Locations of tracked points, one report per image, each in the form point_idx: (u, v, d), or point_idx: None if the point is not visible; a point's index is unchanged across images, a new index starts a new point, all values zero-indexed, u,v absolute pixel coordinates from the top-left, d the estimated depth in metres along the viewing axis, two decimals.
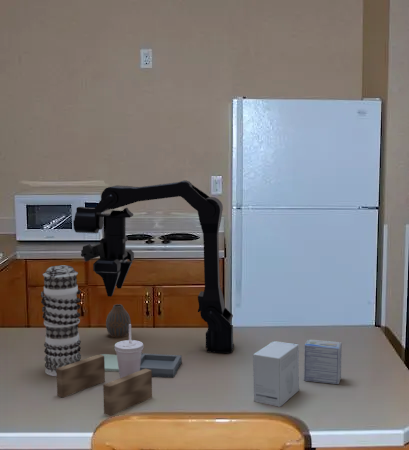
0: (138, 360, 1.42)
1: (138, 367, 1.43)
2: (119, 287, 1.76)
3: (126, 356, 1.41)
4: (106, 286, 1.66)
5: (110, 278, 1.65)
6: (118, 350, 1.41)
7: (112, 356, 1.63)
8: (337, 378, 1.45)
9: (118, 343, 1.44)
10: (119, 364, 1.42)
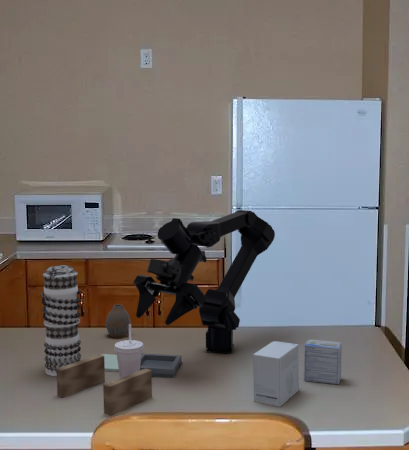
0: (138, 360, 1.42)
1: (138, 367, 1.43)
2: (139, 316, 1.51)
3: (126, 356, 1.41)
4: (174, 312, 1.46)
5: (181, 307, 1.47)
6: (118, 350, 1.41)
7: (112, 356, 1.63)
8: (337, 378, 1.45)
9: (118, 343, 1.44)
10: (119, 364, 1.42)
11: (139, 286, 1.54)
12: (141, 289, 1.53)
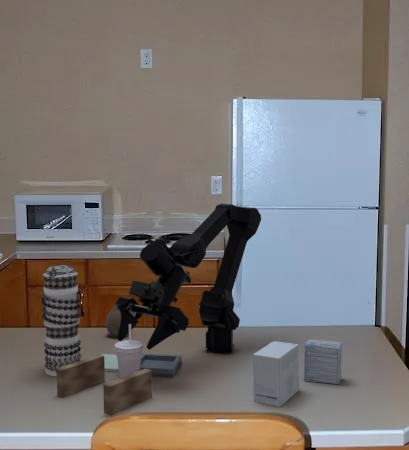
0: (138, 360, 1.42)
1: (138, 367, 1.43)
2: (120, 339, 1.47)
3: (126, 356, 1.41)
4: (156, 336, 1.42)
5: (164, 331, 1.43)
6: (118, 350, 1.41)
7: (112, 356, 1.63)
8: (337, 378, 1.45)
9: (118, 343, 1.44)
10: (119, 364, 1.42)
11: (121, 308, 1.49)
12: (123, 312, 1.49)
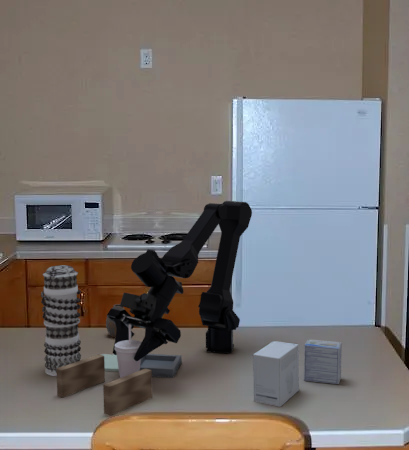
0: None
1: (138, 367, 1.43)
2: (115, 353, 1.45)
3: (126, 356, 1.41)
4: (144, 348, 1.41)
5: (151, 342, 1.42)
6: (118, 350, 1.41)
7: (112, 356, 1.63)
8: (337, 378, 1.45)
9: (118, 343, 1.44)
10: (119, 364, 1.42)
11: (116, 321, 1.47)
12: (118, 324, 1.47)
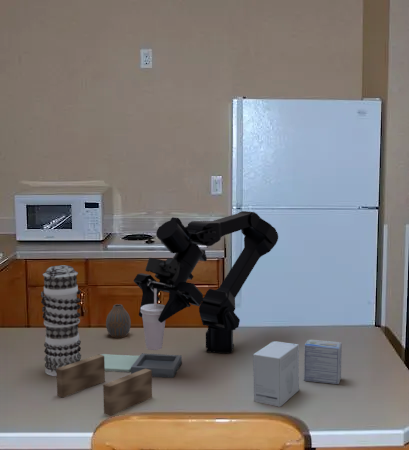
0: (162, 322, 1.49)
1: (162, 329, 1.50)
2: (141, 315, 1.52)
3: (151, 318, 1.48)
4: (168, 310, 1.48)
5: (175, 305, 1.49)
6: (144, 312, 1.48)
7: (112, 356, 1.63)
8: (337, 378, 1.45)
9: (144, 306, 1.51)
10: (144, 326, 1.50)
11: (142, 285, 1.54)
12: (144, 289, 1.54)
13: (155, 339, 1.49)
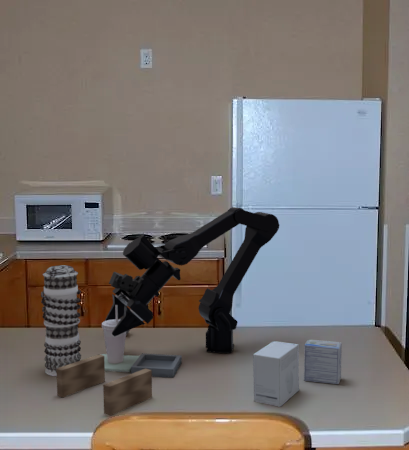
0: (118, 338, 1.56)
1: (118, 344, 1.56)
2: None
3: (107, 332, 1.56)
4: (120, 325, 1.52)
5: (130, 321, 1.53)
6: (102, 326, 1.57)
7: None
8: (337, 378, 1.45)
9: (108, 320, 1.60)
10: None
11: (113, 296, 1.63)
12: (113, 299, 1.63)
13: (112, 353, 1.57)
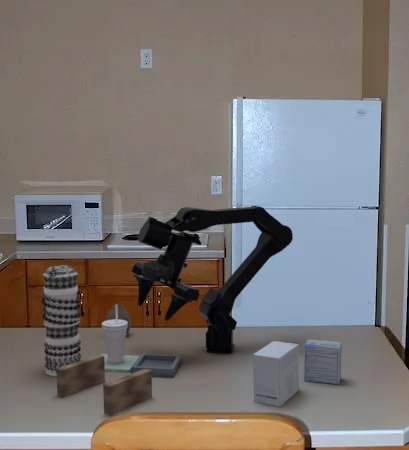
0: (118, 338, 1.56)
1: (118, 344, 1.56)
2: (141, 305, 1.65)
3: (107, 332, 1.56)
4: (172, 310, 1.59)
5: (178, 303, 1.60)
6: (102, 326, 1.57)
7: None
8: (337, 378, 1.45)
9: (108, 320, 1.60)
10: None
11: (137, 278, 1.64)
12: (139, 280, 1.64)
13: (112, 353, 1.57)
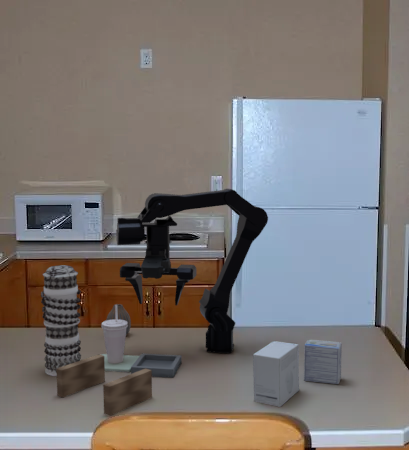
0: (118, 338, 1.56)
1: (118, 344, 1.56)
2: None
3: (107, 332, 1.56)
4: (180, 294, 1.63)
5: None
6: (102, 326, 1.57)
7: None
8: (337, 378, 1.45)
9: (108, 320, 1.60)
10: None
11: (130, 280, 1.62)
12: (133, 282, 1.63)
13: (112, 353, 1.57)
